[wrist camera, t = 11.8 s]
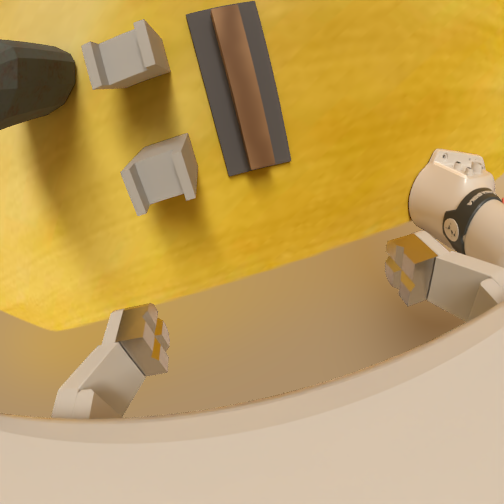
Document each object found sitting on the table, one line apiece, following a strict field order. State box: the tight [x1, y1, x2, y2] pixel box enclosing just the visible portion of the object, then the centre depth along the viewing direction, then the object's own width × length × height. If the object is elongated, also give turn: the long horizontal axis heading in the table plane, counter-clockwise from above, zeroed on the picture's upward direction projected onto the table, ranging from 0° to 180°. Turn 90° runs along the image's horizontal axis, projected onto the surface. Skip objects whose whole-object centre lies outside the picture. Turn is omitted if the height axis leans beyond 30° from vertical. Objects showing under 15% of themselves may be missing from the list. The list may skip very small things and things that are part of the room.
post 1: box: [82, 19, 171, 90], centre depth 25 cm, size 6×5×12 cm
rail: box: [211, 4, 275, 170], centre depth 32 cm, size 3×22×3 cm, turn 12°
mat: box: [186, 1, 291, 176], centre depth 34 cm, size 9×24×1 cm, turn 13°
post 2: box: [120, 133, 198, 216], centre depth 33 cm, size 6×5×12 cm
